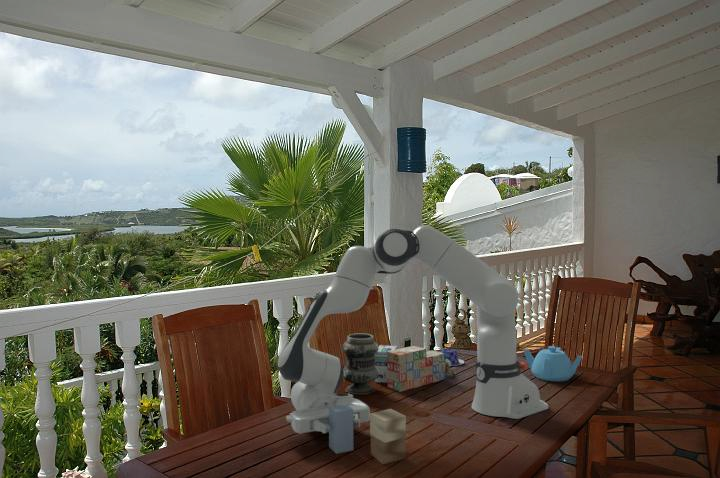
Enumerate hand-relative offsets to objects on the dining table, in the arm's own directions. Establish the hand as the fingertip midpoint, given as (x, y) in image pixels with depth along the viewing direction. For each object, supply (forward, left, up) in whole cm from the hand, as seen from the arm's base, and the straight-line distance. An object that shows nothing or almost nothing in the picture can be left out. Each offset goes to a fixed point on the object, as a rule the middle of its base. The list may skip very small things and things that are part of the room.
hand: (342, 427), depth 134 cm
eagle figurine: (-58, -44, -6) cm, 73 cm away
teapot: (-91, -25, -6) cm, 95 cm away
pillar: (0, -1, -6) cm, 6 cm away
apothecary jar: (-24, -41, -6) cm, 48 cm away
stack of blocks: (-44, -39, -6) cm, 59 cm away
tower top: (-8, +8, -1) cm, 11 cm away
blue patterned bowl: (-70, -58, -6) cm, 91 cm away
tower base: (-8, +8, -6) cm, 13 cm away
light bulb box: (-38, -49, -6) cm, 62 cm away
